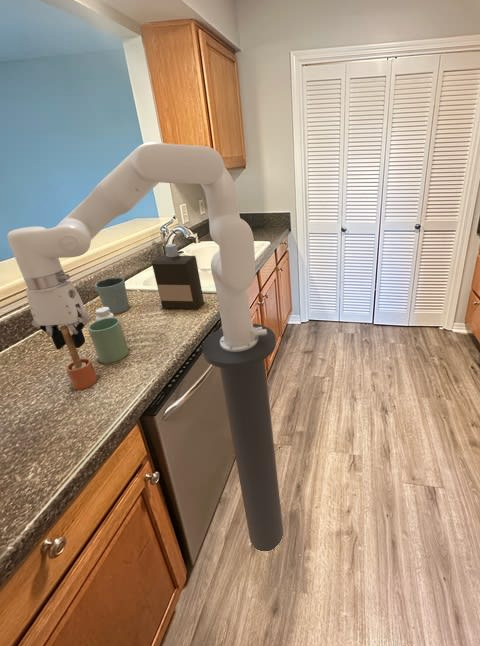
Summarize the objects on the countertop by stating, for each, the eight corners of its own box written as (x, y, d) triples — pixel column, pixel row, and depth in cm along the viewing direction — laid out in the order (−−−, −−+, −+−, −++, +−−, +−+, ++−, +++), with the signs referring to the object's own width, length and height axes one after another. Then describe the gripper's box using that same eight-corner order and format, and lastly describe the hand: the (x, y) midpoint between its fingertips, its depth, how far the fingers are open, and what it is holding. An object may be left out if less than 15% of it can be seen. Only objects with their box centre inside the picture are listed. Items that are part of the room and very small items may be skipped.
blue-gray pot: (118, 302, 135) (110, 276, 131) (137, 305, 132) (130, 278, 127) (97, 313, 127) (88, 285, 122) (117, 316, 123) (108, 288, 119)
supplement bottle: (101, 340, 108) (93, 314, 104) (100, 333, 112) (92, 308, 108) (119, 335, 110) (112, 309, 106) (118, 329, 115) (110, 304, 111)
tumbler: (131, 345, 104) (122, 315, 100) (125, 360, 97) (115, 328, 92) (104, 350, 102) (93, 319, 98) (95, 365, 95) (83, 333, 91)
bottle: (170, 300, 135) (156, 242, 125) (206, 301, 132) (195, 242, 122) (159, 309, 127) (144, 248, 118) (197, 310, 125) (185, 248, 115)
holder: (100, 374, 91) (93, 356, 89) (93, 387, 86) (86, 368, 84) (78, 377, 90) (71, 360, 88) (69, 391, 85) (62, 372, 83)
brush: (93, 376, 89) (73, 323, 82) (87, 384, 86) (66, 329, 80) (81, 377, 89) (61, 323, 82) (75, 385, 86) (52, 330, 79)
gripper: (90, 272, 80) (111, 336, 87) (21, 276, 79) (48, 340, 86) (73, 284, 73) (96, 352, 80) (-4, 288, 72) (27, 356, 80)
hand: (71, 345), depth 83 cm, fingers open, 4 cm apart
